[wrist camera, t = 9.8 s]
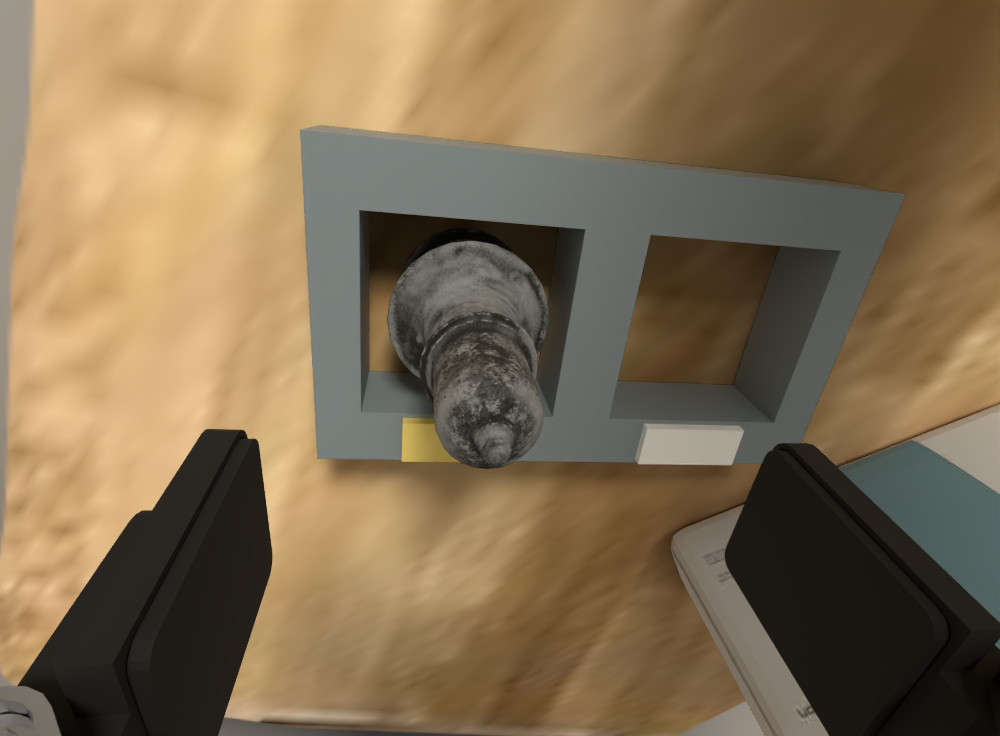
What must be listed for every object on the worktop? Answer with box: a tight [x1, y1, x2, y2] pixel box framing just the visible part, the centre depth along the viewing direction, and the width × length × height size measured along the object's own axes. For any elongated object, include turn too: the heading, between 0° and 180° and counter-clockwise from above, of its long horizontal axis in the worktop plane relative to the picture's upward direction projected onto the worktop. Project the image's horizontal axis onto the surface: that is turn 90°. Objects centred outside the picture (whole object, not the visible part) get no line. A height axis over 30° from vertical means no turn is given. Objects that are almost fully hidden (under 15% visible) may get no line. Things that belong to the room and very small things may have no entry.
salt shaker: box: [387, 228, 548, 469], centre depth 17 cm, size 6×6×12 cm
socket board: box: [300, 125, 906, 465], centre depth 22 cm, size 12×21×4 cm, turn 84°
